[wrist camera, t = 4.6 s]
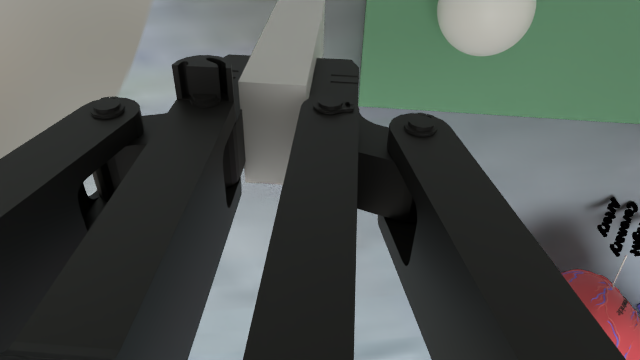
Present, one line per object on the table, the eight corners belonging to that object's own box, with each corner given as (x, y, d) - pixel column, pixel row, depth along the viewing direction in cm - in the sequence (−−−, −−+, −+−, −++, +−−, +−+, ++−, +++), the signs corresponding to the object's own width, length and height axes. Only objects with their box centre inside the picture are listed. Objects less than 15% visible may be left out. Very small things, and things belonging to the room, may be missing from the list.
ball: (533, -50, 22) (562, -29, 18) (509, 40, 24) (532, 73, 21) (440, -55, 22) (453, -34, 18) (426, 35, 24) (435, 67, 21)
